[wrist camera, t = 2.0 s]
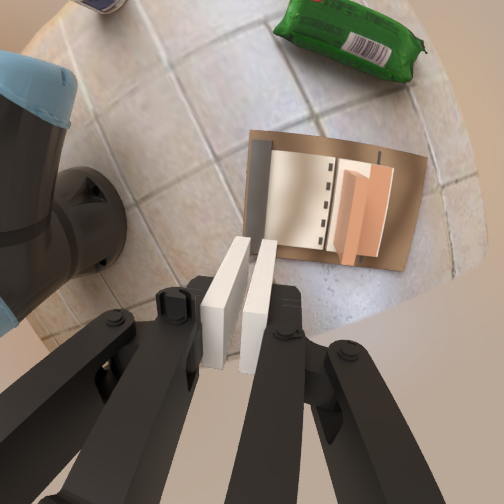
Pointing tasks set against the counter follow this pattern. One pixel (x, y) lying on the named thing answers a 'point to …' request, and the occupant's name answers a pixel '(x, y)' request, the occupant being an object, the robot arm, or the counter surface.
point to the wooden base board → (323, 196)
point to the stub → (358, 209)
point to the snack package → (352, 37)
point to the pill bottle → (101, 5)
